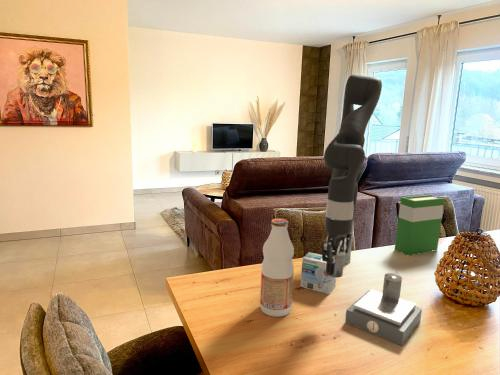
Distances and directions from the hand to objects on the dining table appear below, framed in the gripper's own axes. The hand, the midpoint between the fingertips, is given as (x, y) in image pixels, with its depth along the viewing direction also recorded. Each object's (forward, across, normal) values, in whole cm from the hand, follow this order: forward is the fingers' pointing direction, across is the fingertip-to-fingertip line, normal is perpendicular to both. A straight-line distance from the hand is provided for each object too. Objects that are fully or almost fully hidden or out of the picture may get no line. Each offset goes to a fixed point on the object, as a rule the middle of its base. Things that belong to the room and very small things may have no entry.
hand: (334, 270), depth 109 cm
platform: (+10, -7, +13) cm, 18 cm away
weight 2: (+8, -11, +13) cm, 19 cm away
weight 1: (+1, 0, 0) cm, 1 cm away
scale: (+14, -7, +13) cm, 20 cm away
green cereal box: (+15, -75, +2) cm, 76 cm away
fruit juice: (+14, +9, -14) cm, 22 cm away
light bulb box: (+14, -13, -12) cm, 22 cm away
